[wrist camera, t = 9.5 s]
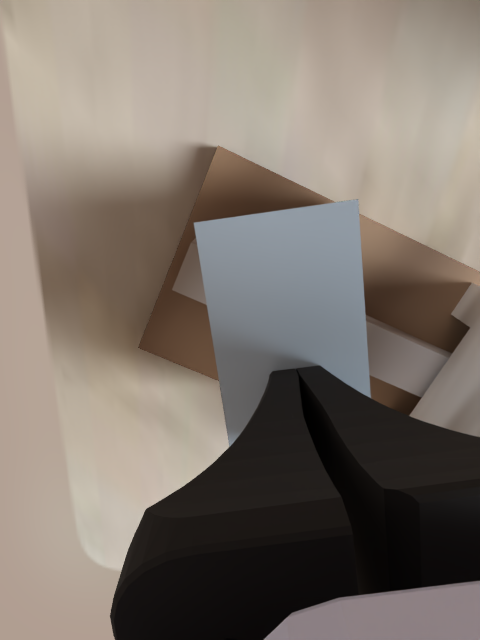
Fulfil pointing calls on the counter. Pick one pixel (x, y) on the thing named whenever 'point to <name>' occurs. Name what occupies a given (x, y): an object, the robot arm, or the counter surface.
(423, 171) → the counter surface
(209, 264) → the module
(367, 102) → the counter surface
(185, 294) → the board
